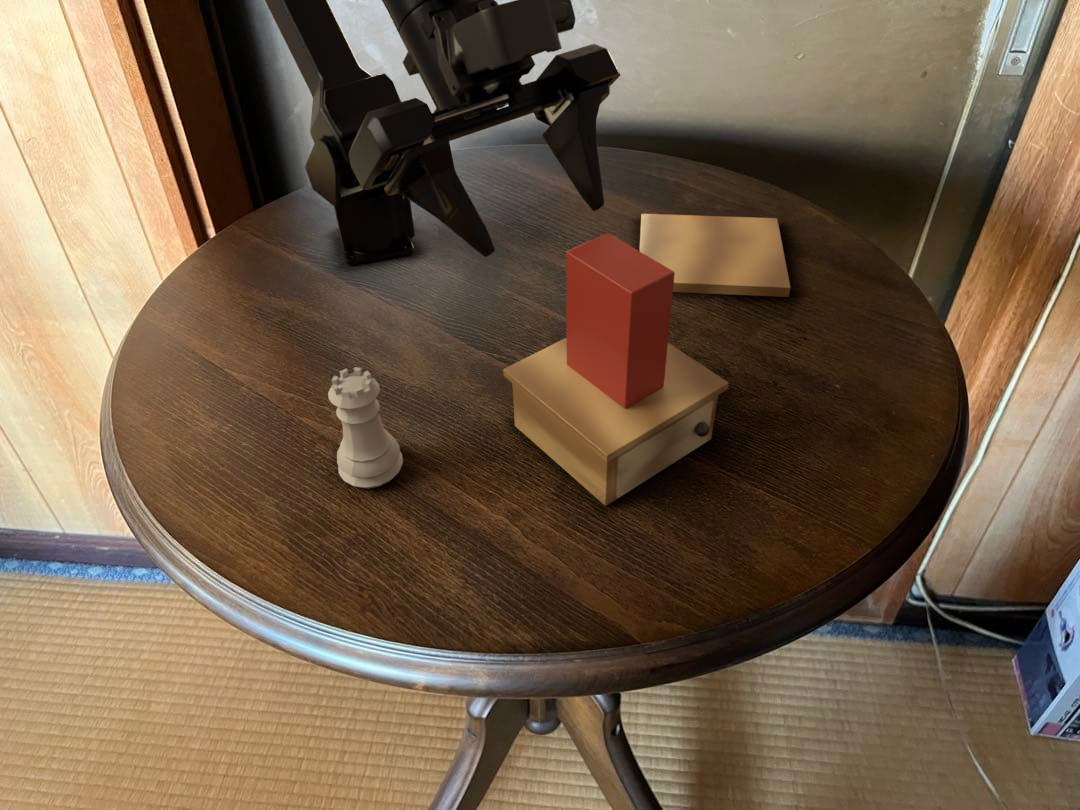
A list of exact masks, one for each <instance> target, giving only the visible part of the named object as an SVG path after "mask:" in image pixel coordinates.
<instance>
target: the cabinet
mask: <svg viewBox="0 0 1080 810" xmlns="http://www.w3.org/2000/svg"><path fill="white" fill-rule="evenodd" d="M502 372H503V373H502V374H503V377H504V378H505V379H506V380H508V381H509V382H510V383H511V386H512V403H513V413H514V414H513V417H514V427H516V429H518V430H519V431H520V432H521V433H522V434H523V435H524V436H525V437H527V439H529V440H530V441H531V442H532V443H533V444H534V445H536V446H537V447H538V448H539V449H540V450H541V451H543V452H544V453H545V454H546V455H547V456H548V457H549V458H550V459H551V460H553V461H554V462H555V463H556V464H557V465H559V466H560V467H561V468H562V469H563V470H564V471H565V472H566V473H567V474H569V476H571V477H572V478H573V479H574V480H575V481H576V482H578V483H579V484H580V485H581V486H582V487H583V488H584V489H585V490H587V492H589V493H590V494H591V495H593V497H594V498H596V499H597V500H598V501H599V502H600V503H601V504H603V505H604V506H606V507H607V506H608V505H610V504H611V503H613V502H615V501H616V500H617V499H619V498H621V497H622V496H624V495H625V494H627V493H629V492H631V491H632V490H634V489H635V488H637V487H639V485H641V484H643V483H644V482H646V481H648V480H649V479H650V478H652V477H654V476H655V475H657V474H658V473H660V472H661V471H664V470H665V469H667V468H668V467H669V466H672V464H675V463H676V462H677V461H679V460H680V459H682V458H684V457H685V456H687V455H688V454H690V453H692V452H693V451H695V450H697V449H698V448H700V447H701V446H703V445H704V444H706V443H707V442H709V441H711V440H712V437H713V430H714V425H715V423H714V422H715V417H716V411H717V404H718V398H719V395H721V394H722V393H724V392H725V391H727V390H728V389H729V383H730V382H728V381H727V380H725V379H724V378H722V377H721V376H719V375H718V374H716V373H715V372H713V371H712V370H710V369H709V368H707V367H706V366H704V365H703V364H701V363H700V362H698V361H697V360H695V359H694V358H692V357H691V356H689V355H688V354H686V353H685V352H683V351H682V350H680V349H679V348H677V347H675V346H674V345H672V344H671V343H670V342H668V347H667V358H666V368H665V378H664V387H663V388H661V389H659V390H657V391H656V392H654V393H652V394H650V395H649V396H647V397H645V398H643V399H642V400H640V401H638V402H637V403H635V404H633V405H631V406H630V407H628V408H626V409H625V408H623V407H622V406H621V405H619V404H618V403H617V402H615V401H614V400H613V399H611V398H610V397H609V396H607V395H606V394H605V393H604V392H602V391H601V390H600V389H598V388H597V387H596V386H594V385H593V384H592V383H590V382H589V381H588V380H586V379H585V378H584V377H583V376H581V375H580V374H579V373H577V372H576V371H575V370H573V369H572V368H571V367H569V366H568V365H567V337H565V338H563V339H561V340H559V341H557V342H555V343H553V344H551V345H549V346H547V347H545V348H543V349H541V350H539V351H537V352H535V353H533V354H531V355H529V356H527V357H525V358H523V359H521V360H519V361H517V362H515V363H513V364H511V365H509V366H507V367H505V368H504V369H503V370H502Z"/></svg>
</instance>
